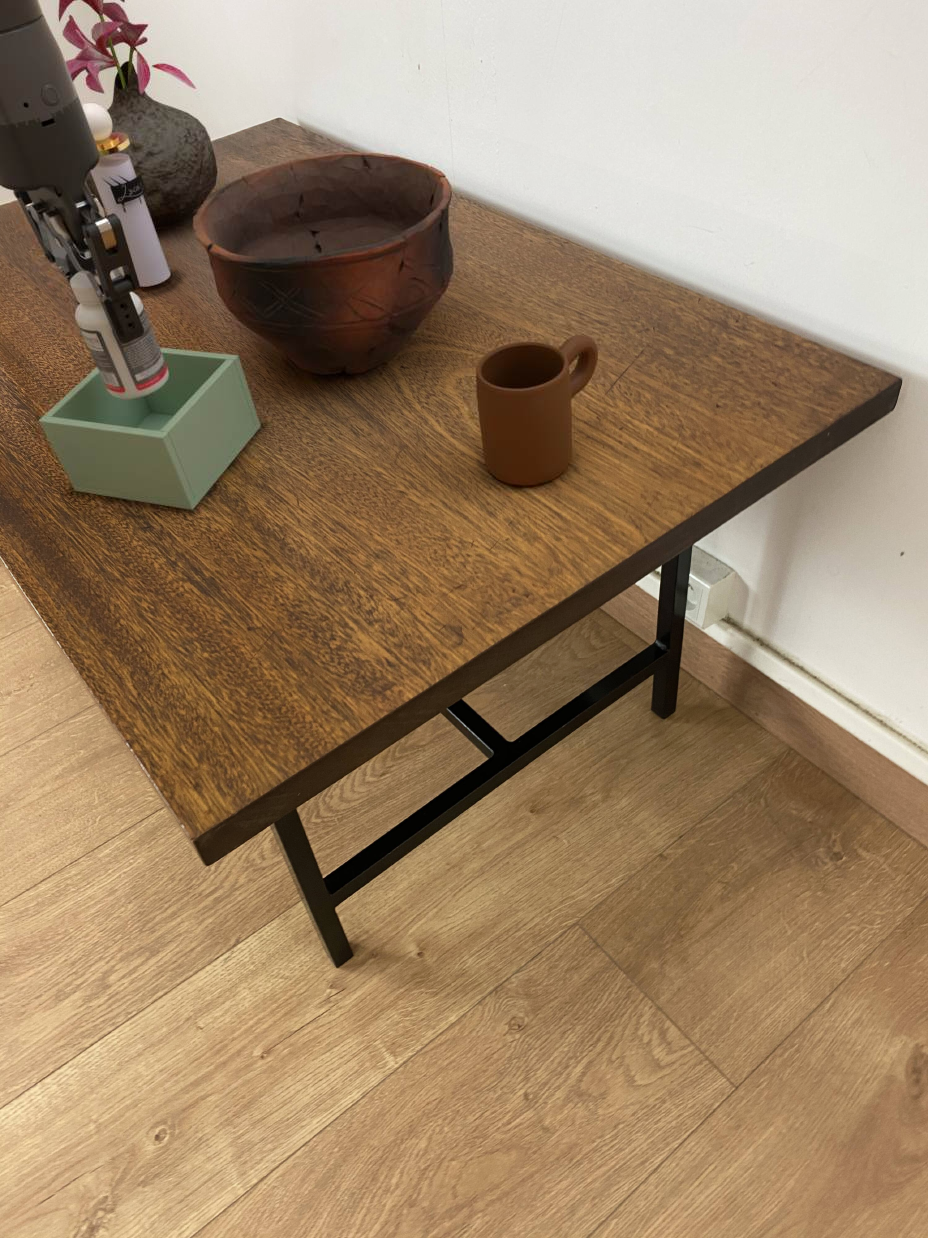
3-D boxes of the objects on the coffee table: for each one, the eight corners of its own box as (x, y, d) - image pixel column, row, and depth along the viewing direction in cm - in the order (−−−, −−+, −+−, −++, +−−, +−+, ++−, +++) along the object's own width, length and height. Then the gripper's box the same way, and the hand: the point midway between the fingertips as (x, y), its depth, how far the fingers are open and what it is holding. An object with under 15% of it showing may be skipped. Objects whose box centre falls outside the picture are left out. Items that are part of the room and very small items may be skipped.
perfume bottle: (120, 288, 110) (49, 109, 95) (157, 268, 113) (93, 91, 98) (150, 298, 107) (81, 115, 93) (187, 277, 110) (125, 96, 95)
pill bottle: (170, 361, 80) (129, 254, 73) (170, 393, 77) (127, 283, 70) (109, 374, 80) (62, 267, 73) (106, 406, 76) (56, 297, 69)
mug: (564, 403, 83) (562, 308, 76) (626, 436, 79) (629, 338, 72) (466, 463, 79) (454, 368, 72) (526, 501, 74) (519, 403, 67)
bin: (192, 510, 78) (162, 437, 73) (74, 490, 82) (37, 420, 76) (261, 426, 86) (238, 354, 81) (150, 412, 90) (121, 343, 84)
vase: (84, 243, 121) (-29, -27, 99) (150, 189, 132) (62, -65, 110) (193, 247, 116) (101, -35, 94) (253, 190, 127) (182, -74, 105)
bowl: (515, 310, 96) (505, 161, 85) (376, 436, 83) (343, 278, 72) (336, 270, 107) (306, 134, 96) (188, 375, 94) (134, 231, 83)
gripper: (-69, 100, 65) (37, 319, 77) (10, 138, 57) (114, 376, 69) (29, 69, 68) (115, 284, 80) (117, 101, 60) (198, 335, 72)
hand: (114, 326), depth 74 cm, fingers closed on pill bottle, 5 cm apart
